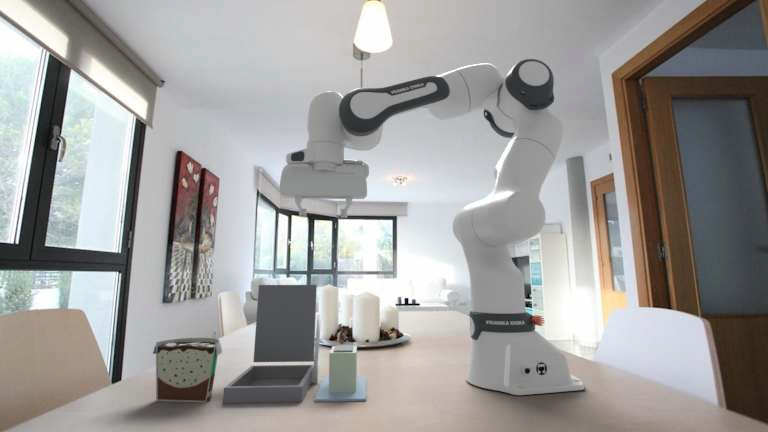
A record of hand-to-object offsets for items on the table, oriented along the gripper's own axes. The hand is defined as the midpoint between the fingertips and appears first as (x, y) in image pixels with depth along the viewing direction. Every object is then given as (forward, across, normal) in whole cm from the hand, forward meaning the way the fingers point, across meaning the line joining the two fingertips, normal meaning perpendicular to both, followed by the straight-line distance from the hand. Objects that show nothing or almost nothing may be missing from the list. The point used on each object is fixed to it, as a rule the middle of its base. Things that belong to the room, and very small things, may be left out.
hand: (323, 217), depth 88 cm
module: (+35, -6, +9) cm, 36 cm away
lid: (+24, +8, -1) cm, 25 cm away
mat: (+35, -6, +9) cm, 37 cm away
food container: (+36, +22, +12) cm, 43 cm away
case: (+35, +8, +8) cm, 37 cm away
